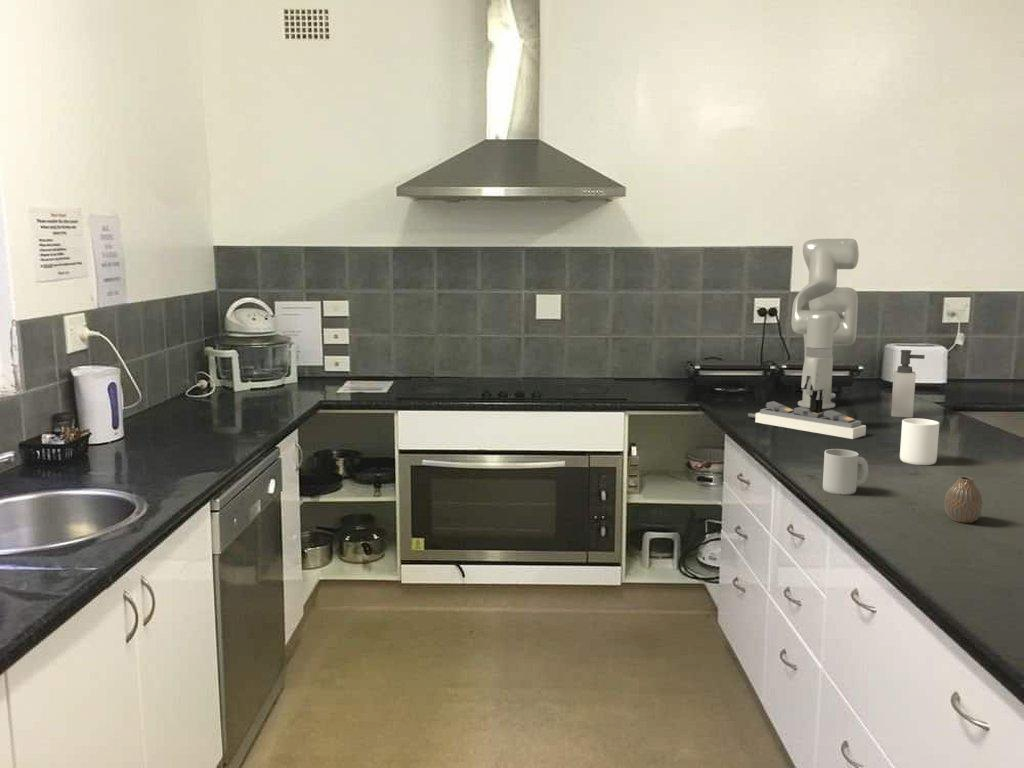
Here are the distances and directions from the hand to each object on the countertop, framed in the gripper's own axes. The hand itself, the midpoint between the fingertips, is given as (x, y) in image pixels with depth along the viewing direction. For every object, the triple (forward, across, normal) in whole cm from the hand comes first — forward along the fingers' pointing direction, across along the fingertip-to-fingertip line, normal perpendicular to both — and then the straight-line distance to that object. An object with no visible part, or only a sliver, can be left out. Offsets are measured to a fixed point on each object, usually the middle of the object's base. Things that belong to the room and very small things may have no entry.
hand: (815, 411), depth 246 cm
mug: (+6, +15, +37) cm, 41 cm away
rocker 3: (+1, 0, +8) cm, 8 cm away
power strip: (+6, 0, -5) cm, 7 cm away
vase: (+6, +57, +65) cm, 87 cm away
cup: (+6, +55, +39) cm, 68 cm away
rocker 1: (+1, 0, -12) cm, 12 cm away
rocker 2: (+1, 0, -2) cm, 2 cm away
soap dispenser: (+6, -43, +8) cm, 44 cm away
